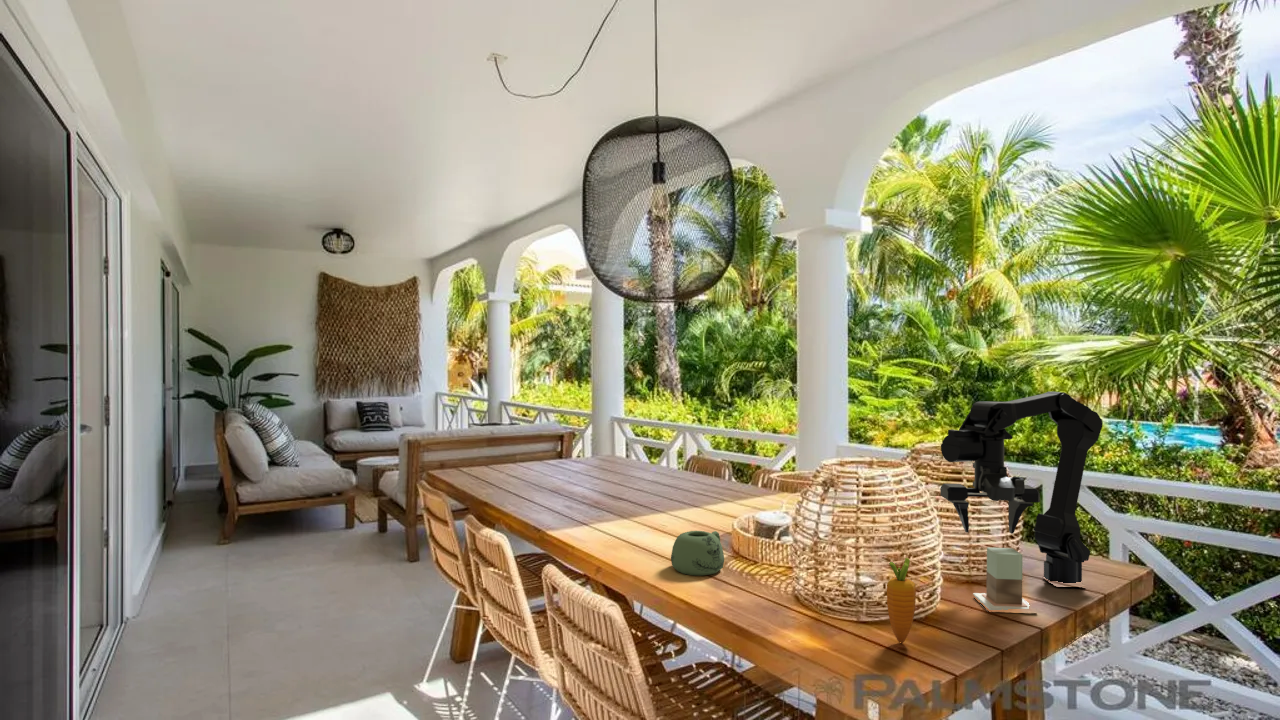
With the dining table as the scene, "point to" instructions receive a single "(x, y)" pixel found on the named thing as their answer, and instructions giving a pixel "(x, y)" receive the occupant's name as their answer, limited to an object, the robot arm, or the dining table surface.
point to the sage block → (1004, 563)
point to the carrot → (901, 601)
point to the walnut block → (1004, 590)
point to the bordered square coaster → (993, 606)
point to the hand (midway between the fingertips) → (989, 532)
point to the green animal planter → (697, 553)
